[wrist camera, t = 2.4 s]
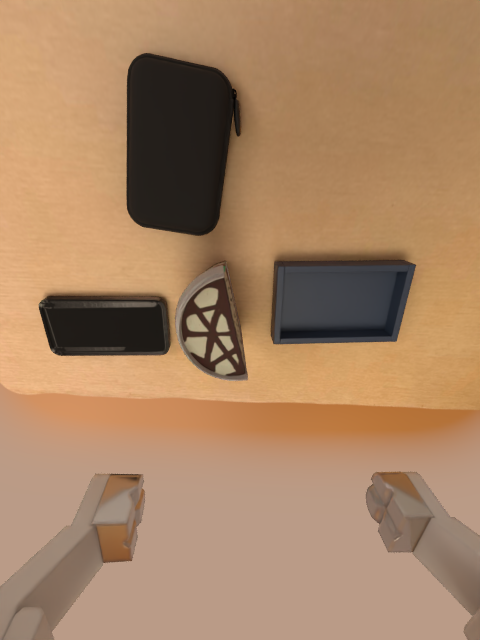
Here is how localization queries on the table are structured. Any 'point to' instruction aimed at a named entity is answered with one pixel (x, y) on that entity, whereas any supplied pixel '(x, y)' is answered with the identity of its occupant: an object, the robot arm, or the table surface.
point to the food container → (211, 325)
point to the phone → (106, 325)
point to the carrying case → (177, 143)
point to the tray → (339, 300)
